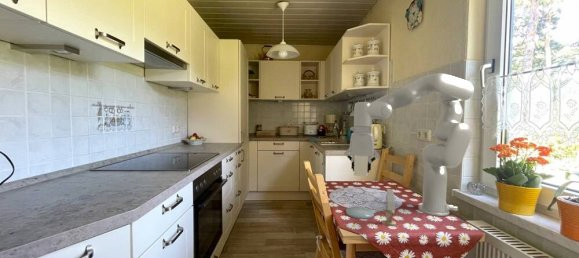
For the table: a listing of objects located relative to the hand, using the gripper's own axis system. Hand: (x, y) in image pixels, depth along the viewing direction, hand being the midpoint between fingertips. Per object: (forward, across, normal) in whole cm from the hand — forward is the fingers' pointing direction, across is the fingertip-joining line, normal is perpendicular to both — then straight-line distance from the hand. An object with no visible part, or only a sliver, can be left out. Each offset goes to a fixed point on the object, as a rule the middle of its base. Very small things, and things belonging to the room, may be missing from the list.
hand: (360, 170), depth 117 cm
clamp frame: (+19, +12, 0) cm, 23 cm away
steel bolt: (+8, +12, -15) cm, 21 cm away
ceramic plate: (+19, 0, 0) cm, 19 cm away
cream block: (+2, 0, 0) cm, 2 cm away
